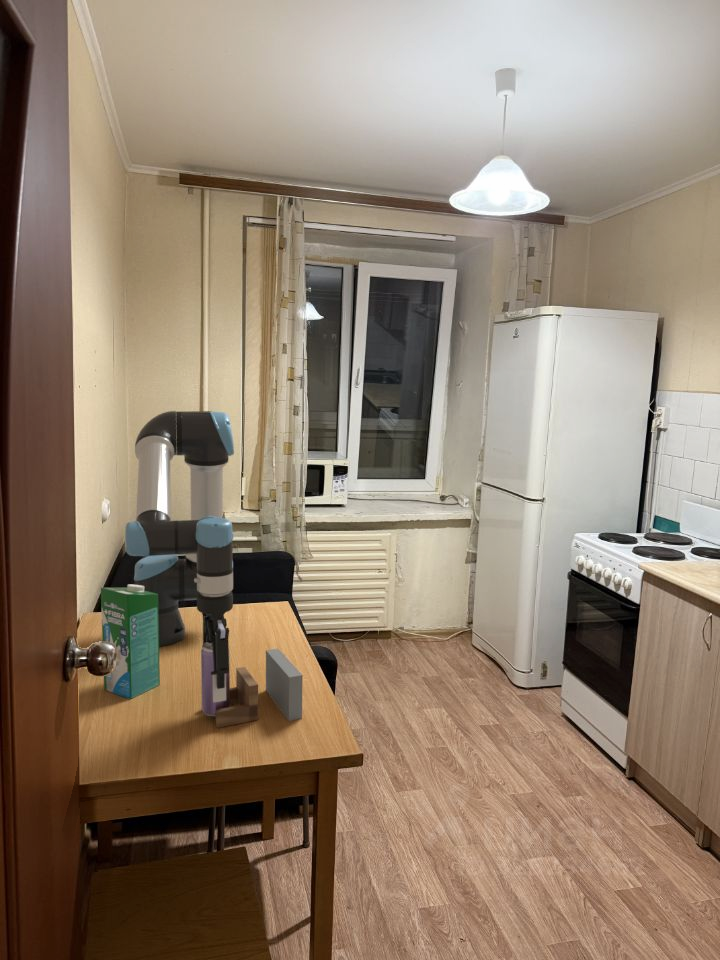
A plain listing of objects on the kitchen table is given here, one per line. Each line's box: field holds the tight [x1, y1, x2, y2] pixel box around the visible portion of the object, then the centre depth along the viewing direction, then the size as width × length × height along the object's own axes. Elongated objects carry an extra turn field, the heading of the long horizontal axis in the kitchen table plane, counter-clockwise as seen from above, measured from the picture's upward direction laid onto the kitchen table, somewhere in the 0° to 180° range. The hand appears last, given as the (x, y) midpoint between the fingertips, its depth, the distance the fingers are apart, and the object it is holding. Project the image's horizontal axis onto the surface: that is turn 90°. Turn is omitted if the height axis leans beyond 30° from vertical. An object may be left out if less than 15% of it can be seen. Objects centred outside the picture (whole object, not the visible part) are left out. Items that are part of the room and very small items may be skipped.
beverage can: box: [200, 642, 231, 717], centre depth 148 cm, size 6×6×15 cm
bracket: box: [215, 666, 259, 729], centre depth 151 cm, size 10×9×8 cm
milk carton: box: [100, 584, 161, 700], centre depth 161 cm, size 9×9×25 cm
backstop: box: [265, 648, 303, 722], centre depth 156 cm, size 16×3×10 cm, turn 26°
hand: (215, 694), depth 149 cm, fingers closed on beverage can, 6 cm apart
